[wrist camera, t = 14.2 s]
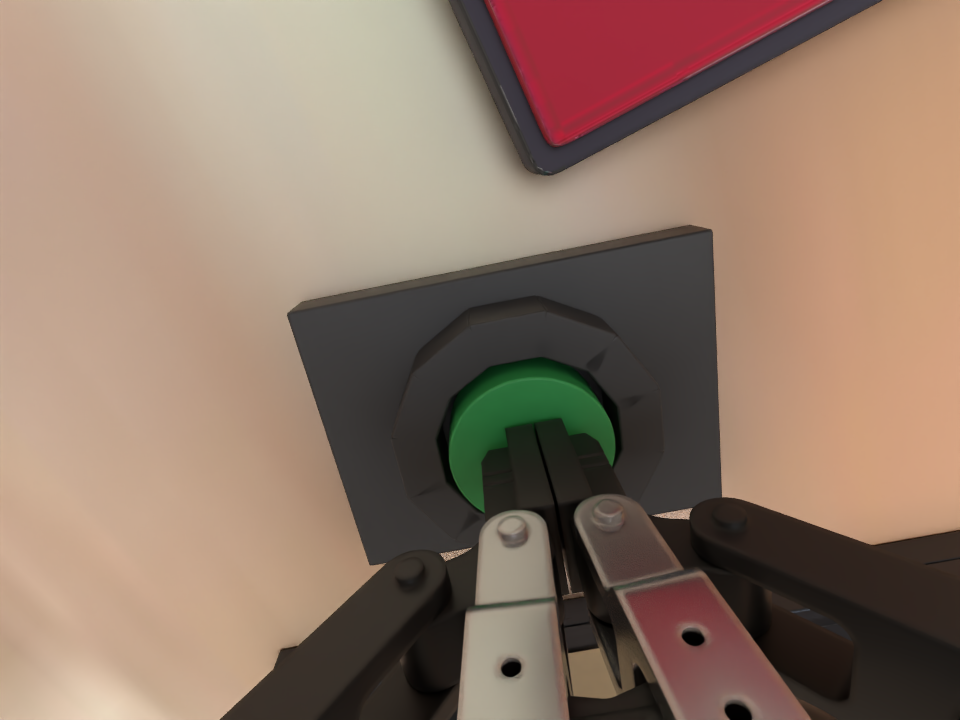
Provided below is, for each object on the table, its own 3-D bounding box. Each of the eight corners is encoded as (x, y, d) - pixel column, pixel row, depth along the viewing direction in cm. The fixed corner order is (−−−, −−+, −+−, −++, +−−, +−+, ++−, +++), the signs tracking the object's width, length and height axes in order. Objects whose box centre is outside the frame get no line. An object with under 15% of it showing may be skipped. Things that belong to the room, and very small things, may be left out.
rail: (339, 786, 23) (327, 846, 21) (280, 649, 20) (259, 703, 18) (1016, 673, 22) (1073, 725, 20) (1053, 513, 19) (1124, 554, 17)
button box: (375, 539, 19) (359, 609, 16) (300, 301, 16) (261, 331, 13) (704, 479, 18) (752, 539, 15) (692, 223, 15) (748, 235, 12)
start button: (466, 498, 16) (466, 537, 14) (435, 369, 15) (432, 395, 13) (605, 472, 16) (623, 509, 14) (589, 339, 14) (606, 362, 13)
